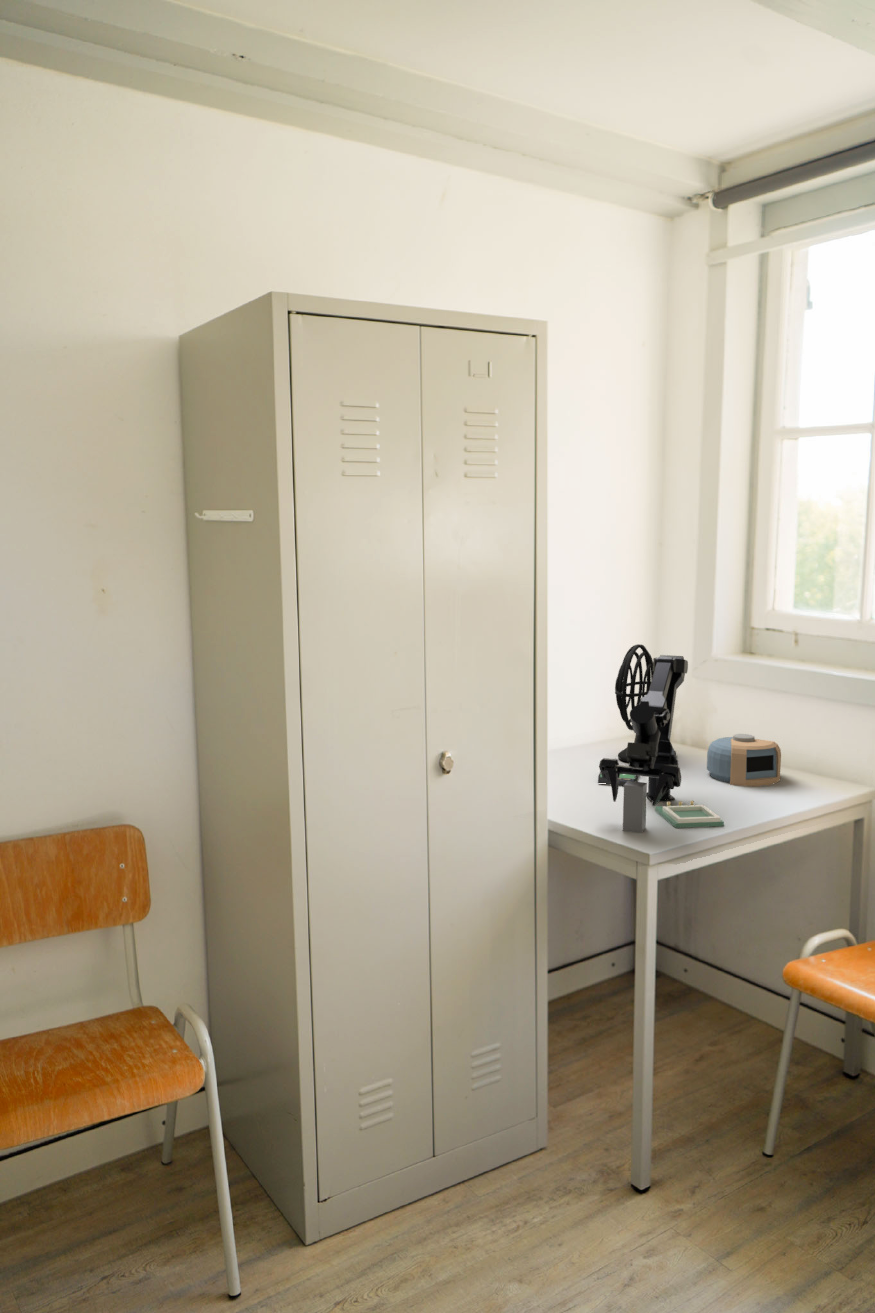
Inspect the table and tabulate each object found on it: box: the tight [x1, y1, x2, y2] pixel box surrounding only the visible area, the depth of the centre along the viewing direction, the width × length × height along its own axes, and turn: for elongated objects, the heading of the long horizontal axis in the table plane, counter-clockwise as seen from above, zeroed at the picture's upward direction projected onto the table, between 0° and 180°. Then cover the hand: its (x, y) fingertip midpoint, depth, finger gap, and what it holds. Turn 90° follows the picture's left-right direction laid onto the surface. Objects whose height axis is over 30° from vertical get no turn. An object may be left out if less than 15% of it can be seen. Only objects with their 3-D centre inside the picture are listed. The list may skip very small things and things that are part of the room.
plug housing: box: [622, 781, 648, 834], centre depth 224 cm, size 4×4×11 cm
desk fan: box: [614, 644, 677, 762], centre depth 293 cm, size 27×18×35 cm, turn 152°
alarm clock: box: [706, 733, 782, 787], centre depth 271 cm, size 19×20×12 cm
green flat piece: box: [654, 800, 725, 829], centre depth 233 cm, size 14×12×2 cm
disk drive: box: [597, 770, 638, 785], centre depth 270 cm, size 10×3×15 cm
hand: (633, 803), depth 222 cm, fingers open, 9 cm apart
